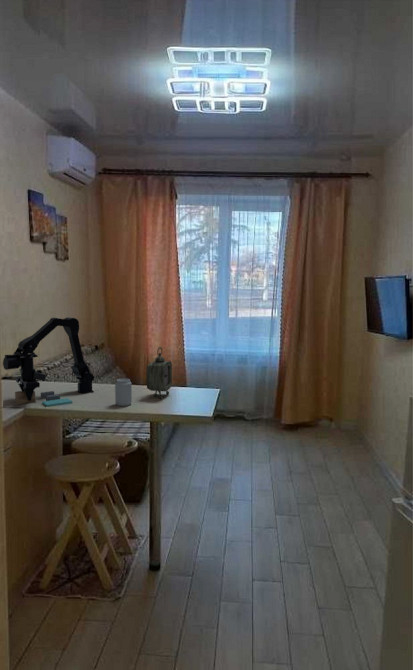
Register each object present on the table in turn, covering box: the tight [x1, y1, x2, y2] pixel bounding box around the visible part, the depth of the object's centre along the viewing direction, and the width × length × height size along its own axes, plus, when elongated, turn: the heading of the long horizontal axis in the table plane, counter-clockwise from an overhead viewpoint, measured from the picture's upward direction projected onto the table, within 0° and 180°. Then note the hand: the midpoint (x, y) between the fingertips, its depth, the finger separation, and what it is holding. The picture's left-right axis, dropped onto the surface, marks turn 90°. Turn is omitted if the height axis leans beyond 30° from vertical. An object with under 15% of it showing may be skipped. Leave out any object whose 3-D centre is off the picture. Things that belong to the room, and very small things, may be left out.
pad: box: [41, 397, 73, 408], centre depth 224 cm, size 12×7×1 cm, turn 125°
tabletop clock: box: [145, 346, 173, 400], centre depth 238 cm, size 14×9×25 cm, turn 167°
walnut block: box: [14, 390, 36, 405], centre depth 225 cm, size 8×5×5 cm, turn 124°
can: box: [114, 378, 133, 407], centre depth 222 cm, size 8×8×12 cm
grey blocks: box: [40, 390, 61, 401], centre depth 232 cm, size 6×11×2 cm, turn 35°
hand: (28, 399), depth 226 cm, fingers closed on walnut block, 5 cm apart
